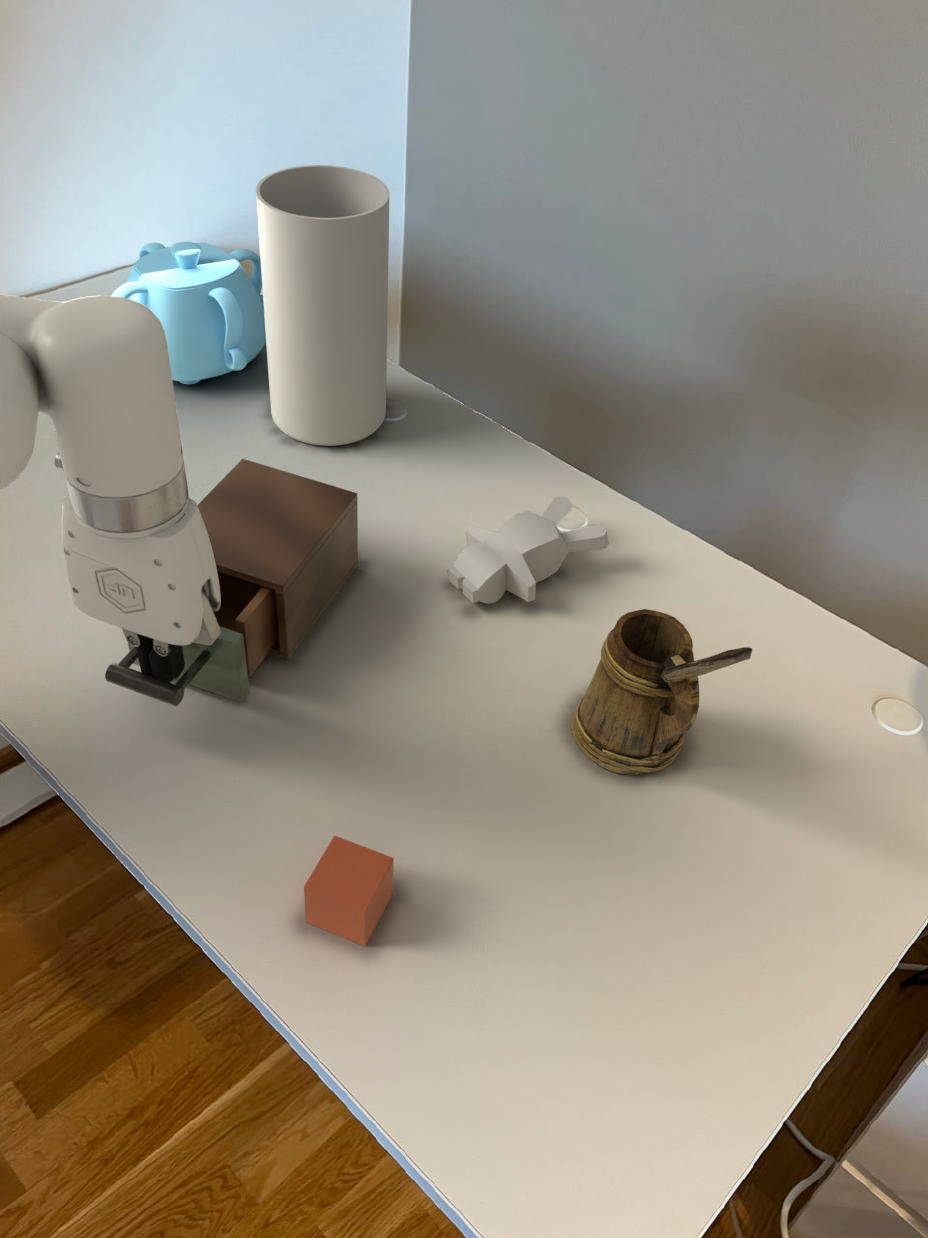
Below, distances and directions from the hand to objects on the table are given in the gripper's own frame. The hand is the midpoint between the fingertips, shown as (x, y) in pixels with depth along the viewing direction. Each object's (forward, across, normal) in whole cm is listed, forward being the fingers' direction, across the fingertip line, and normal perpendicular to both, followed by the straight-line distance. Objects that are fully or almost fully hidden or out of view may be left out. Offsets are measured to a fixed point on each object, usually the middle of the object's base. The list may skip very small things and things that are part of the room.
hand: (164, 675), depth 83 cm
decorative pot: (+4, -27, +48) cm, 55 cm away
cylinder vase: (+4, -8, +44) cm, 45 cm away
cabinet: (+4, 0, +16) cm, 16 cm away
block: (+4, +21, -10) cm, 24 cm away
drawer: (+3, 0, +6) cm, 7 cm away
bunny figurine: (+4, +20, +29) cm, 35 cm away
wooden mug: (+4, +36, +12) cm, 38 cm away
